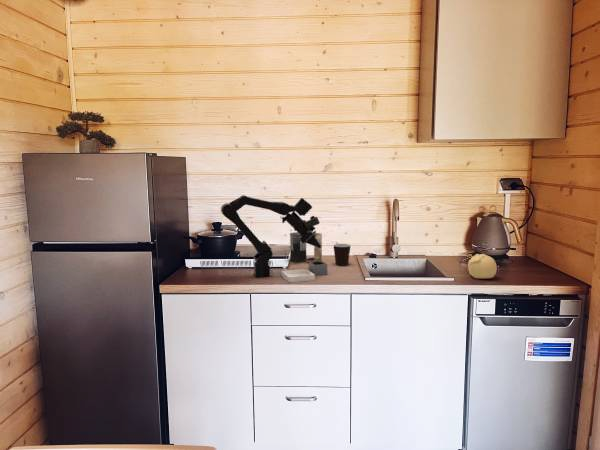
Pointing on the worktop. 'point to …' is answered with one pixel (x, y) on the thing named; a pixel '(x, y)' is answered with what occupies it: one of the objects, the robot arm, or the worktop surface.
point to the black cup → (342, 254)
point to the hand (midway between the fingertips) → (321, 246)
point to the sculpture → (482, 266)
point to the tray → (297, 275)
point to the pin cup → (318, 268)
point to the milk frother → (298, 249)
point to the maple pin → (318, 250)
